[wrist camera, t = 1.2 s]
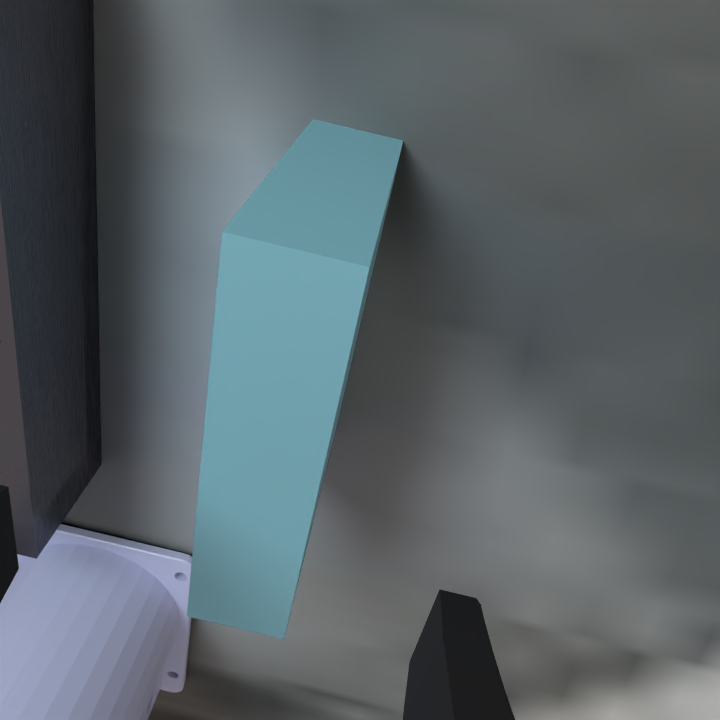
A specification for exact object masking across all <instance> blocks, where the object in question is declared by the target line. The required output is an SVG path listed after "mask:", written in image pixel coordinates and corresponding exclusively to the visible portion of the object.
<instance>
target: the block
mask: <svg viewBox="0 0 720 720" xmlns="http://www.w3.org/2000/svg"><path fill="white" fill-rule="evenodd" d="M402 144H403V141H402V140H398V139H394V138H390V137H385V136H381V135H377V134H373V133H369V132H365V131H360V130H356V129H352V128H348V127H344V126H340V125H335V124H331V123H327V122H323V121H319V120H315V119H313V120H312V121H311V122H310V124H309V125H308V126H307V127H306V129H305V130H304V131H303V132H302V134H301V135H300V136H299V137H298V138H297V140H296V141H295V142H294V143H293V145H292V146H291V147H290V148H289V150H288V151H287V152H286V153H285V155H284V156H283V157H282V158H281V160H280V161H279V162H278V163H277V164H276V166H275V167H274V168H273V169H272V171H271V172H270V173H269V174H268V176H267V177H266V178H265V179H264V181H263V182H262V183H261V184H260V185H259V187H258V188H257V189H256V190H255V192H254V193H253V194H252V195H251V197H250V198H249V199H248V200H247V202H246V203H245V204H244V205H243V207H242V208H241V209H240V210H239V211H238V213H237V214H236V215H235V216H234V218H233V219H232V220H231V221H230V223H229V224H228V225H227V226H226V228H225V229H224V230H223V231H222V237H221V248H220V259H219V270H218V281H217V292H216V303H215V313H214V324H213V335H212V346H211V357H210V368H209V379H208V390H207V400H206V411H205V422H204V433H203V444H202V455H201V466H200V477H199V487H198V498H197V509H196V520H195V531H194V542H193V553H192V564H191V574H190V585H189V596H188V607H187V616H188V617H192V618H196V619H200V620H205V621H209V622H213V623H217V624H222V625H226V626H230V627H234V628H238V629H243V630H247V631H251V632H255V633H260V634H264V635H268V636H272V637H277V638H281V639H284V638H285V634H286V630H287V626H288V622H289V618H290V613H291V609H292V605H293V601H294V597H295V593H296V589H297V585H298V581H299V577H300V573H301V569H302V565H303V561H304V557H305V553H306V549H307V545H308V541H309V537H310V533H311V529H312V525H313V520H314V516H315V512H316V508H317V504H318V500H319V496H320V492H321V488H322V484H323V480H324V476H325V472H326V468H327V464H328V460H329V456H330V452H331V448H332V444H333V440H334V436H335V431H336V427H337V423H338V419H339V414H340V410H341V406H342V401H343V397H344V393H345V389H346V384H347V380H348V376H349V371H350V367H351V363H352V359H353V354H354V350H355V346H356V341H357V337H358V333H359V329H360V324H361V320H362V316H363V311H364V307H365V303H366V299H367V294H368V290H369V286H370V282H371V277H372V273H373V269H374V264H375V260H376V256H377V252H378V247H379V243H380V239H381V234H382V230H383V226H384V222H385V217H386V213H387V209H388V204H389V200H390V196H391V192H392V187H393V183H394V179H395V174H396V170H397V166H398V162H399V157H400V153H401V149H402Z"/></svg>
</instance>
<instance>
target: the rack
mask: <svg viewBox="0 0 720 720" xmlns="http://www.w3.org/2000/svg"><path fill="white" fill-rule="evenodd" d="M100 466H101V428H100V373H99V318H98V262H97V207H96V152H95V96H94V41H93V0H0V485H4V486H8V487H9V494H10V502H11V510H12V518H13V526H14V533H15V541H16V549H17V554H19V555H23V556H27V557H31V558H35V559H37V558H38V556H39V555H40V553H41V552H42V550H43V549H44V547H45V546H46V545H47V543H48V542H49V540H50V539H51V537H52V536H53V534H54V533H55V531H56V530H57V528H58V527H59V525H60V524H61V523H62V521H63V520H64V518H65V517H66V515H67V514H68V512H69V511H70V509H71V508H72V506H73V505H74V504H75V502H76V501H77V499H78V498H79V496H80V495H81V493H82V492H83V490H84V489H85V487H86V486H87V485H88V483H89V482H90V480H91V479H92V477H93V476H94V474H95V473H96V471H97V470H98V468H99V467H100Z"/></svg>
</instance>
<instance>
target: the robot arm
mask: <svg viewBox="0 0 720 720" xmlns="http://www.w3.org/2000/svg"><path fill="white" fill-rule="evenodd" d="M191 564H192V556H190V555H188V554H185V553H181V552H177V551H172V550H168V549H164V548H160V547H156V546H152V545H147V544H143V543H139V542H135V541H131V540H126V539H122V538H118V537H114V536H110V535H105V534H101V533H97V532H93V531H89V530H84V529H80V528H76V527H72V526H68V525H63V524H60V525H59V527H58V528H57V530H56V531H55V533H54V534H53V536H52V537H51V539H50V540H49V542H48V543H47V545H46V546H45V547H44V549H43V550H42V552H41V553H40V555H39V556H38V558H37V559H35V558H31V557H27V556H23V555H19V554H17V549H16V541H15V533H14V526H13V518H12V510H11V502H10V494H9V487H8V486H4V485H0V720H148V718H149V716H150V713H151V711H152V708H153V706H154V703H155V701H156V698H157V696H158V693H159V691H160V690H164V691H168V692H173V693H177V692H180V691H182V689H183V687H184V684H185V678H186V668H187V658H188V648H189V638H190V628H191V618H192V617H188V616H187V607H188V596H189V585H190V574H191ZM403 720H515V718H514V715H513V713H512V710H511V707H510V704H509V701H508V698H507V695H506V692H505V689H504V686H503V683H502V679H501V676H500V673H499V670H498V667H497V663H496V660H495V657H494V653H493V650H492V647H491V643H490V639H489V636H488V632H487V628H486V625H485V621H484V617H483V613H482V609H481V604H480V603H479V602H478V600H477V599H476V598H473V597H469V596H464V595H460V594H456V593H452V592H448V591H443V590H439V592H438V595H437V597H436V600H435V602H434V604H433V607H432V609H431V612H430V614H429V617H428V619H427V621H426V624H425V626H424V629H423V631H422V633H421V636H420V638H419V641H418V643H417V645H416V648H415V650H414V653H413V655H412V657H411V660H410V664H409V672H408V680H407V688H406V696H405V704H404V713H403Z"/></svg>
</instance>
